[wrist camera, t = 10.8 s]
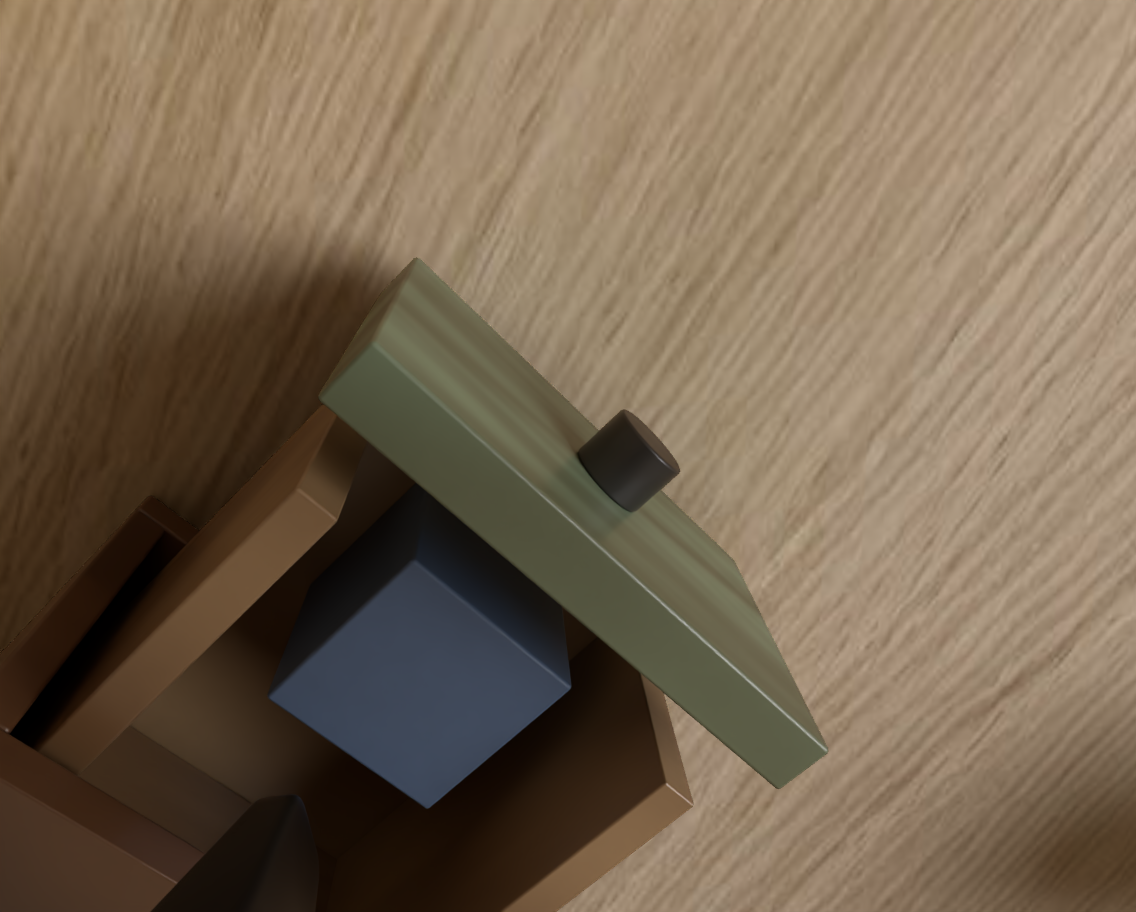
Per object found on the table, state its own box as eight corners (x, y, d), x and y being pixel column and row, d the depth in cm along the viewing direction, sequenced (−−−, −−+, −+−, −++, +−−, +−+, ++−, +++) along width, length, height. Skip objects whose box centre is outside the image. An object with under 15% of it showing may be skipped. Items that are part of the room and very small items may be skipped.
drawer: (456, 212, 18) (432, 276, 12) (773, 528, 21) (887, 711, 15) (36, 654, 21) (-162, 892, 15) (367, 869, 24) (321, 1137, 18)
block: (308, 584, 20) (264, 698, 16) (430, 467, 19) (412, 558, 15) (440, 685, 21) (427, 811, 17) (560, 579, 20) (573, 689, 16)
